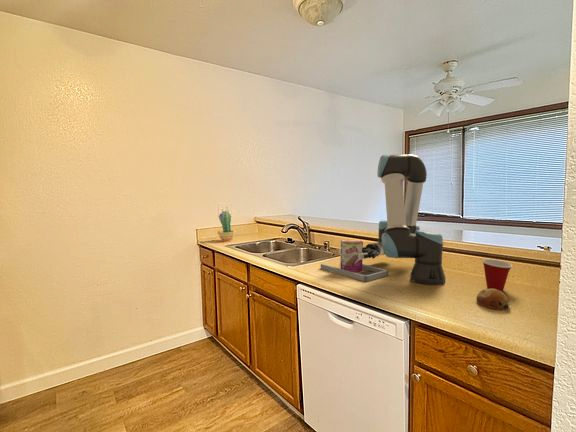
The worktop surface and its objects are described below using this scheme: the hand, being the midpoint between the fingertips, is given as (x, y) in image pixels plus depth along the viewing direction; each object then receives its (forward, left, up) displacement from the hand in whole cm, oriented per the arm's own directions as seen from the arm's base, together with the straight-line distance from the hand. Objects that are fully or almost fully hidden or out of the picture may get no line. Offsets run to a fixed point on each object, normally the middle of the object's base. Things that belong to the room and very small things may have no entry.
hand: (348, 254), depth 162 cm
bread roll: (-65, -6, -9) cm, 66 cm away
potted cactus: (+128, +6, -9) cm, 128 cm away
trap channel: (-1, -2, -9) cm, 9 cm away
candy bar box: (0, -2, -9) cm, 9 cm away
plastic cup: (-58, -28, -9) cm, 65 cm away
